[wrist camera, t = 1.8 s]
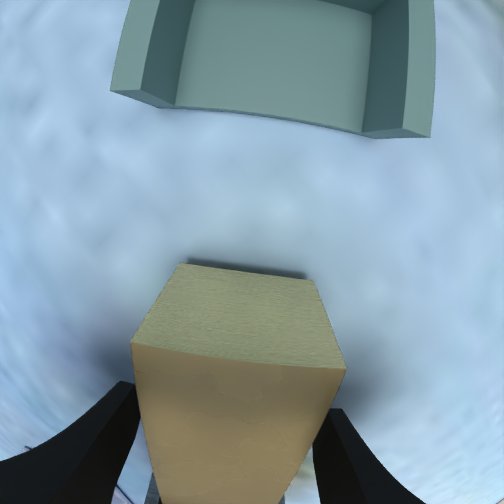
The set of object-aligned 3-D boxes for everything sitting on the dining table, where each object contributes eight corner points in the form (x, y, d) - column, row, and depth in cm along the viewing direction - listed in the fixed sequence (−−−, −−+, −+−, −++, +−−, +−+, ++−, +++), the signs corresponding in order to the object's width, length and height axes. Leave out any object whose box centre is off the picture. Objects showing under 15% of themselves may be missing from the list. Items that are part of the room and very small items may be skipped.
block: (246, 500, 14) (245, 550, 10) (184, 492, 14) (175, 542, 10) (313, 280, 9) (346, 368, 5) (179, 262, 9) (130, 341, 5)
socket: (375, 139, 8) (483, 138, 3) (158, 108, 8) (60, 76, 3) (386, 10, 7) (464, -59, 2) (185, -20, 6) (137, -112, 2)
